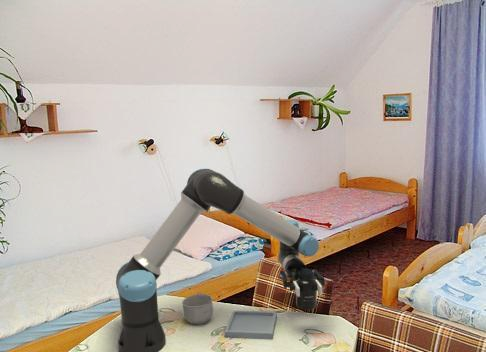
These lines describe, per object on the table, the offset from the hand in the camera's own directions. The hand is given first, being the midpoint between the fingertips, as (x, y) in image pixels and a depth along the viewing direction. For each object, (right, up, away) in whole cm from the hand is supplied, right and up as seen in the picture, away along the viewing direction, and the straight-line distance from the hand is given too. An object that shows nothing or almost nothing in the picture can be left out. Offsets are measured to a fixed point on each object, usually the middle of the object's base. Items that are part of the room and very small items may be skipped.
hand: (309, 291), depth 141 cm
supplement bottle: (0, -7, +6) cm, 9 cm away
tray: (-18, -15, +11) cm, 26 cm away
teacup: (-37, -15, +19) cm, 45 cm away
